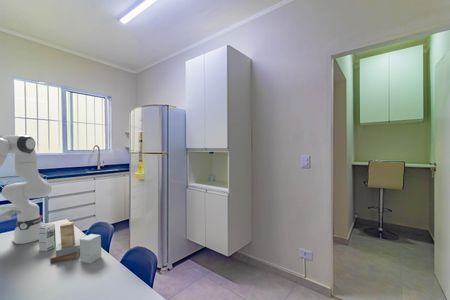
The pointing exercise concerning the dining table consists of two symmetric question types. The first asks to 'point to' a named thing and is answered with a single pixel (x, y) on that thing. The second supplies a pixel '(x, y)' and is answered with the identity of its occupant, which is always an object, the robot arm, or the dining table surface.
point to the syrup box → (47, 237)
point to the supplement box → (90, 248)
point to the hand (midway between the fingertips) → (16, 214)
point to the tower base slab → (65, 257)
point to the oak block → (67, 234)
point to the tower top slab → (67, 249)
